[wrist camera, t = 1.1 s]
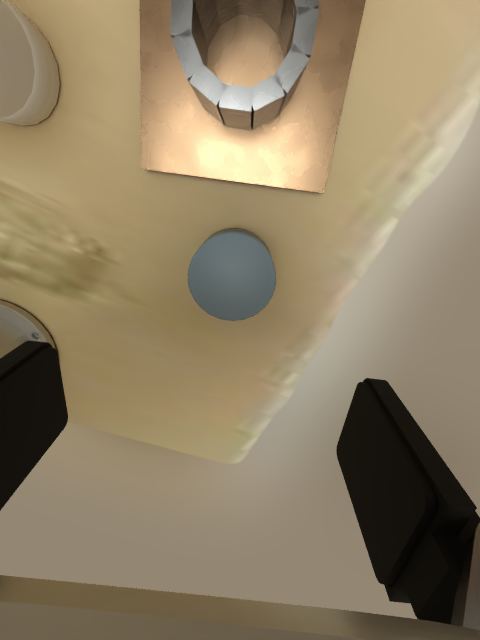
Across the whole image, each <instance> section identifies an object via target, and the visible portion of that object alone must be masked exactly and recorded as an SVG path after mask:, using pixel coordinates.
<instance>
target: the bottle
mask: <svg viewBox="0 0 480 640" xmlns="http://www.w3.org/2000/svg"><path fill="white" fill-rule="evenodd" d="M59 88H60V82H59V74H58V66H57V63H56V60H55V58H54V55H53V53H52V50H51V48H50V45H49V43H48V42H47V41H46V39H45V38H44V36H43V35H42V34H41V32H40V31H39V30H38V28H37V27H36V26H35V25H34V24H33V23H32V22H30V21H29V20H28V19H27V18H26V17H25V16H24V15H23V14H22V13H21V12H20V11H19V10H17V9H16V8H15V7H13V6H12V5H11V4H10V3H8V2H7V1H6V0H0V122H3V123H8V124H16V125H20V126H27V125H36V124H38V123H39V122H41V121H42V120H44V119H46V118H47V117H49V115H50V113H51V112H52V110H53V108H54V107H55V105H56V104H57V99H58V93H59Z"/></svg>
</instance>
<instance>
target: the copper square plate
mask: <svg viewBox="0 0 480 640" xmlns="http://www.w3.org/2000/svg"><path fill="white" fill-rule="evenodd" d="M365 1H366V0H140V63H141V145H142V169H145V170H152V171H160V172H167V173H175V174H182V175H189V176H197V177H204V178H212V179H219V180H227V181H234V182H242V183H249V184H257V185H264V186H272V187H279V188H286V189H294V190H301V191H309V192H316V193H324V189H325V184H326V180H327V175H328V170H329V166H330V161H331V157H332V152H333V147H334V143H335V138H336V134H337V129H338V125H339V120H340V115H341V111H342V106H343V102H344V97H345V92H346V88H347V83H348V79H349V74H350V70H351V65H352V60H353V56H354V51H355V47H356V42H357V37H358V33H359V28H360V24H361V19H362V15H363V10H364V5H365Z"/></svg>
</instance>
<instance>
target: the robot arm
mask: <svg viewBox="0 0 480 640" xmlns="http://www.w3.org/2000/svg"><path fill="white" fill-rule="evenodd" d="M67 421H68V413H67V407H66V401H65V395H64V389H63V383H62V377H61V371H60V365H59V359H58V353H57V350H56V348H55V345H54V342H53V340H52V339H51V337H50V335H49V333H48V332H47V331H46V329H45V328H44V327H43V326H42V325H41V323H40V322H38V321H37V320H36V319H35V318H34V317H33V316H32V315H30V314H29V313H27V312H26V311H24V310H23V309H21V308H19V307H17V306H15V305H13V304H11V303H8V302H5V301H2V300H0V510H1V509H2V508H3V506H4V505H5V504H6V502H7V501H8V500H9V498H10V497H11V496H12V495H13V493H14V492H15V490H16V489H17V488H18V487H19V485H20V484H21V483H22V482H23V481H24V479H25V478H26V477H27V475H28V474H29V473H30V472H31V470H32V469H33V468H34V466H35V465H36V464H37V463H38V461H39V460H40V459H41V457H42V456H43V455H44V454H45V452H46V451H47V450H48V448H49V447H50V446H51V445H52V443H53V442H54V441H55V439H56V438H57V437H58V436H59V434H60V433H61V431H62V430H63V429H64V428H65V426H66V424H67ZM337 457H338V461H339V464H340V467H341V470H342V473H343V476H344V479H345V483H346V486H347V489H348V492H349V495H350V498H351V501H352V504H353V507H354V511H355V514H356V517H357V520H358V523H359V526H360V529H361V532H362V535H363V538H364V542H365V545H366V548H367V551H368V554H369V557H370V560H371V563H372V566H373V569H374V572H375V575H376V578H377V580H378V581H379V583H381V584H384V585H385V588H386V591H387V594H388V597H389V600H390V601H393V602H403V603H411V605H412V608H413V610H414V613H415V615H416V617H417V619H411V618H403V617H395V616H387V615H379V614H371V613H363V612H356V611H348V610H338V609H329V608H320V607H310V606H300V605H292V604H282V603H273V602H263V601H254V600H245V599H244V600H243V599H235V598H226V597H216V596H206V595H196V594H186V593H177V592H167V591H157V590H146V589H137V588H127V587H116V586H107V585H96V584H87V583H76V582H66V581H56V580H45V579H35V578H24V577H13V576H3V575H0V640H480V517H479V516H478V514H477V513H476V512H475V510H476V509H477V507H476V506H475V505H474V503H473V502H472V500H471V499H470V497H469V496H468V495H467V493H466V492H465V490H464V489H463V488H462V486H461V485H460V483H459V482H458V480H457V479H456V478H455V476H454V475H453V473H452V472H451V471H450V469H449V468H448V467H447V465H446V464H445V462H444V461H443V459H442V458H441V457H440V455H439V454H438V452H437V451H436V449H435V448H434V447H433V445H432V444H431V442H430V441H429V440H428V438H427V437H426V435H425V434H424V433H423V431H422V430H421V428H420V427H419V426H418V424H417V423H416V421H415V420H414V418H413V417H412V416H411V414H410V413H409V411H408V410H407V409H406V407H405V406H404V404H403V403H402V401H401V400H400V399H399V397H398V396H397V395H396V393H395V392H394V390H393V389H392V387H391V386H390V385H389V383H388V382H387V381H385V380H379V379H370V378H366V379H365V380H364V381H363V382H359V383H358V385H357V387H356V390H355V393H354V396H353V399H352V402H351V405H350V408H349V411H348V414H347V417H346V420H345V423H344V426H343V429H342V433H341V435H340V438H339V441H338V445H337Z"/></svg>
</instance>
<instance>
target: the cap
mask: <svg viewBox="0 0 480 640" xmlns="http://www.w3.org/2000/svg"><path fill="white" fill-rule="evenodd" d="M188 284H189V288H190V292H191V294H192V296H193V298H194V300H195V301H196V302H197V304H198V305H199V306H200V307H201V308H202V309H203V310H204V311H206V312H207V313H208V314H210V315H212V316H214V317H216V318H219V319H223V320H231V321H235V320H243V319H246V318H249V317H251V316H254V315H255V314H257V313H258V312H260V311H261V310H262V309H263V308H264V307H265V306H266V305H267V304H268V302H269V301H270V299H271V297H272V295H273V293H274V290H275V286H276V272H275V267H274V264H273V261H272V258H271V255H270V252H269V250H268V248H267V246H266V245H265V243H264V242H263V241H262V240H261V239H260V238H259V237H258V236H256V235H255V234H253V233H251V232H249V231H247V230H244V229H239V228H229V229H224V230H221V231H218V232H216V233H214V234H213V235H211V236H210V237H209V238H208V239H207V240H206V241H205V242H204V243H203V244H202V246H201V247H200V248H199V249H198V250H197V252H196V253H195V254H194V256H193V258H192V260H191V262H190V265H189V269H188Z"/></svg>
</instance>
